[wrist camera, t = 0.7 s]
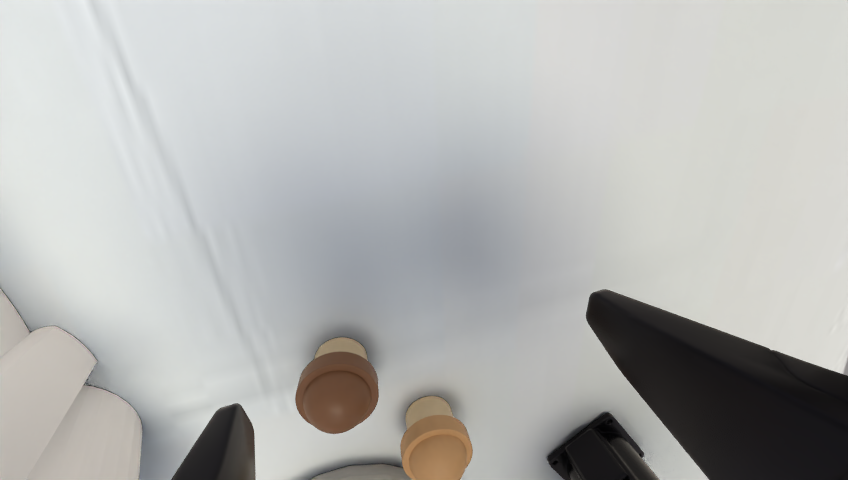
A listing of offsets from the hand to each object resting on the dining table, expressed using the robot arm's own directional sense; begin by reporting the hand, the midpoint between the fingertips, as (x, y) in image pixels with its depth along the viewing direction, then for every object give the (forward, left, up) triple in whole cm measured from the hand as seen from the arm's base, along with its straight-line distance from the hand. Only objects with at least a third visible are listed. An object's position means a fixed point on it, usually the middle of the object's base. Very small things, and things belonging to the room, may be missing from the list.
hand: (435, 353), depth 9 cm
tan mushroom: (-13, +8, -13) cm, 20 cm away
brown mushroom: (-5, +9, -13) cm, 17 cm away
